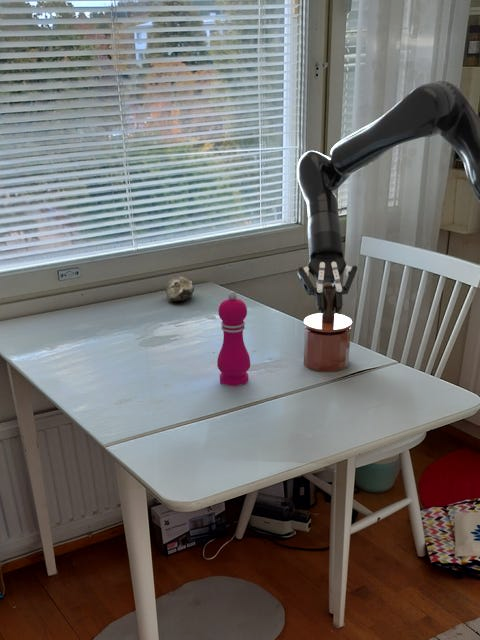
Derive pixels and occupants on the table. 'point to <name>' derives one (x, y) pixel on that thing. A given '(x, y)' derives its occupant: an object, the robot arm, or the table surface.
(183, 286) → the fossilized seashell
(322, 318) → the lid
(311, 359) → the pot
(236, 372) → the pepper mill
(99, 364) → the table surface
